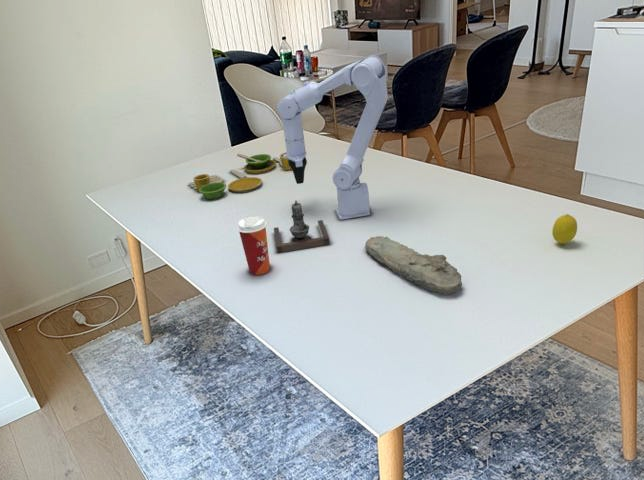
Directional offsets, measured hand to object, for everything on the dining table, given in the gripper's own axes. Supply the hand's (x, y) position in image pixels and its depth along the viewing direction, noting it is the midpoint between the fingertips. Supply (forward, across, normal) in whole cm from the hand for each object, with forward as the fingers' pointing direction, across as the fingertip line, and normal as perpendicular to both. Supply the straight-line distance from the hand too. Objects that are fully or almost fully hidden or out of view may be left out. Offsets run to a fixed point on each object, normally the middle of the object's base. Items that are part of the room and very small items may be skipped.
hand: (299, 182), depth 178 cm
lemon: (+10, +49, +61) cm, 79 cm away
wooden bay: (+9, +20, -3) cm, 22 cm away
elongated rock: (+10, +49, +22) cm, 55 cm away
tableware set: (+10, -40, -18) cm, 45 cm away
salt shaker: (+10, +21, -3) cm, 23 cm away
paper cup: (+10, +36, -16) cm, 41 cm away
